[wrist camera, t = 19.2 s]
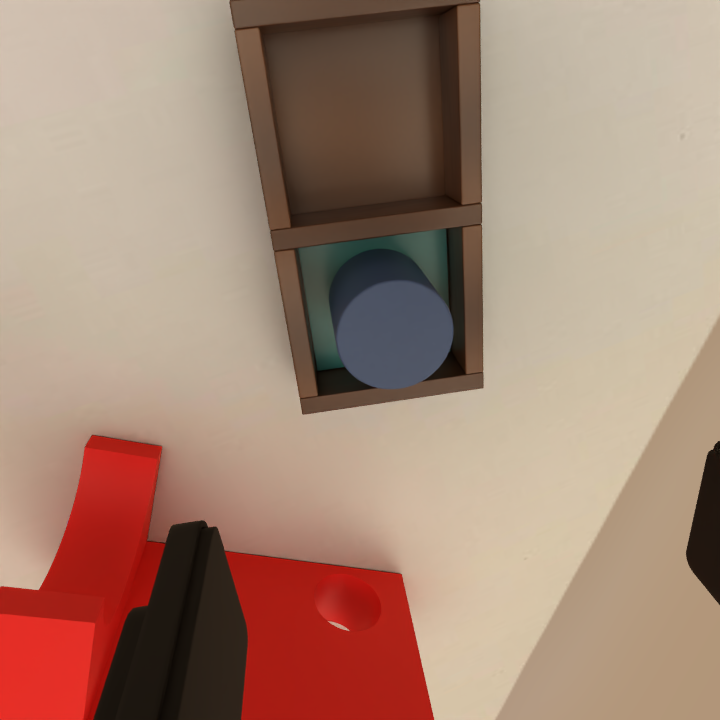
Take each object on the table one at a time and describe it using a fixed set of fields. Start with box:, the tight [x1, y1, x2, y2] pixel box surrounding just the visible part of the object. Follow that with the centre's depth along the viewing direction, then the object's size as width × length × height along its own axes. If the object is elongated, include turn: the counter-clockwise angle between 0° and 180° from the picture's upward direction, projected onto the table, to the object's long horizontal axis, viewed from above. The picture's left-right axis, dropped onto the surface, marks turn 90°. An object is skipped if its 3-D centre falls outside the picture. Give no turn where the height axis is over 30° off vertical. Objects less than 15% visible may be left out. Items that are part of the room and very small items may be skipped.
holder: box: [229, 0, 483, 414], centre depth 22 cm, size 15×8×3 cm, turn 6°
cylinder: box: [329, 249, 454, 389], centre depth 22 cm, size 4×4×4 cm
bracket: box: [0, 435, 434, 720], centre depth 26 cm, size 18×10×10 cm
